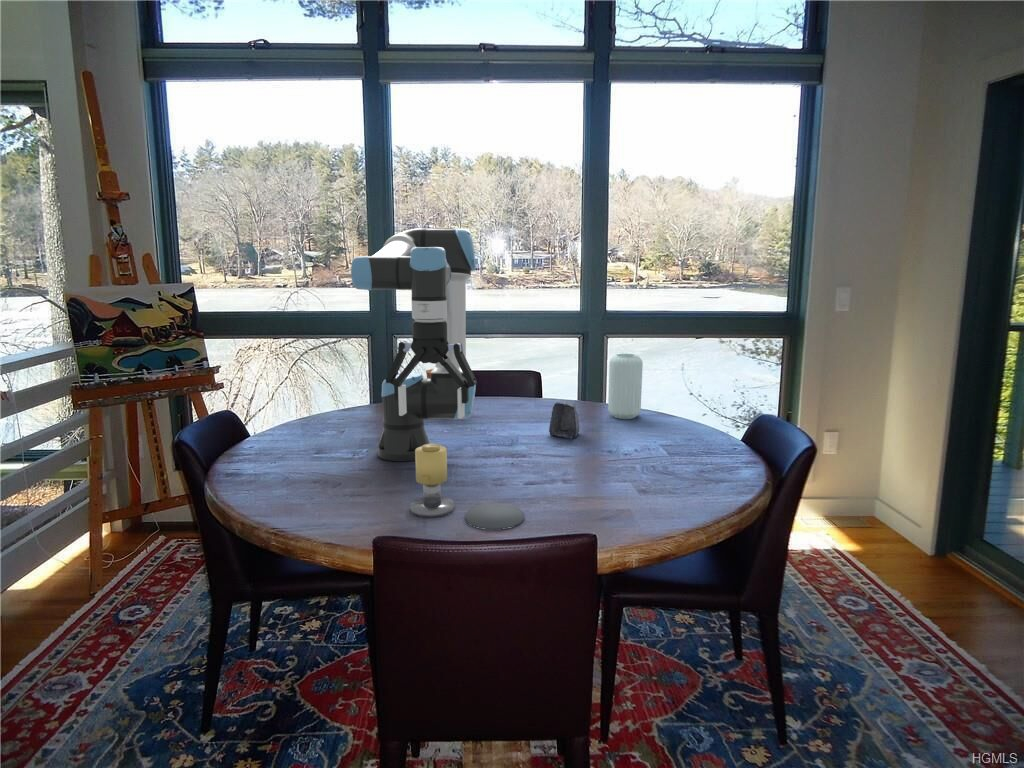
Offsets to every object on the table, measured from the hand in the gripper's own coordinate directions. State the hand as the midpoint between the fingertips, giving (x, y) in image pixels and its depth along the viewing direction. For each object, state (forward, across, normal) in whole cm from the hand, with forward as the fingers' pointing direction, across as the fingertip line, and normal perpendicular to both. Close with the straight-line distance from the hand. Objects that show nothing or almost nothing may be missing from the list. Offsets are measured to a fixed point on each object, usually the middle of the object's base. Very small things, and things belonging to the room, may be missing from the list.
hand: (431, 416), depth 144 cm
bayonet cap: (+15, 0, 0) cm, 15 cm away
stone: (+22, +21, +69) cm, 75 cm away
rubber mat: (+22, +15, -2) cm, 26 cm away
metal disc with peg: (+22, 0, 0) cm, 22 cm away
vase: (+22, +38, +96) cm, 106 cm away
